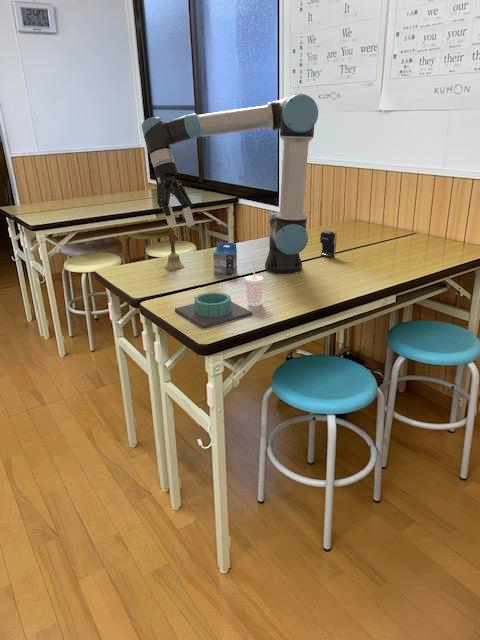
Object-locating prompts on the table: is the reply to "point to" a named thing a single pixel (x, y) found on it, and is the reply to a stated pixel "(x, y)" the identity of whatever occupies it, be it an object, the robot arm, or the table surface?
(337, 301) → the table surface
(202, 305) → the cup holder
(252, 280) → the beverage cup
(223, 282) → the table surface
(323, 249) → the battery charger
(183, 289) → the table surface
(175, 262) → the hand bell
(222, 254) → the label tape box
